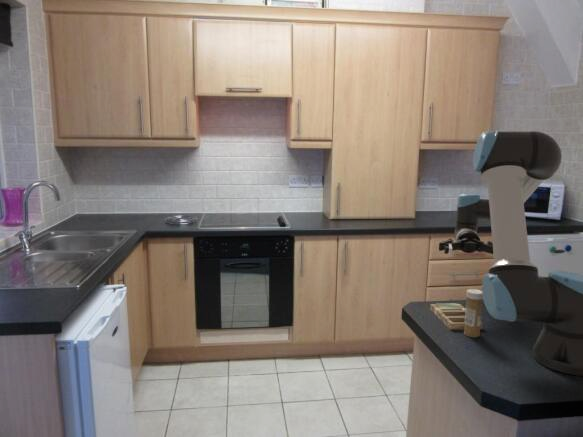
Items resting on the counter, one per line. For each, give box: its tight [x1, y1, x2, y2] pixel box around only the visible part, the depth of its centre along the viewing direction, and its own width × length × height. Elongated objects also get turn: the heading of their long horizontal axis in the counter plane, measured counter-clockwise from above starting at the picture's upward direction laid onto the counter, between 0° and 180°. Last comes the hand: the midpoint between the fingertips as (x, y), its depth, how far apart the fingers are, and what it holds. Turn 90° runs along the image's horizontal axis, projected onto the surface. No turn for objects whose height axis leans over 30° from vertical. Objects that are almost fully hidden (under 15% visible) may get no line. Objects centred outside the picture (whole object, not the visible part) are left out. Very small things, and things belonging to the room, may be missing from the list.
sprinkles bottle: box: [463, 288, 484, 338], centre depth 129 cm, size 5×5×14 cm
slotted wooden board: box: [430, 302, 484, 331], centre depth 141 cm, size 16×10×2 cm, turn 3°
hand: (474, 254), depth 135 cm, fingers open, 13 cm apart
